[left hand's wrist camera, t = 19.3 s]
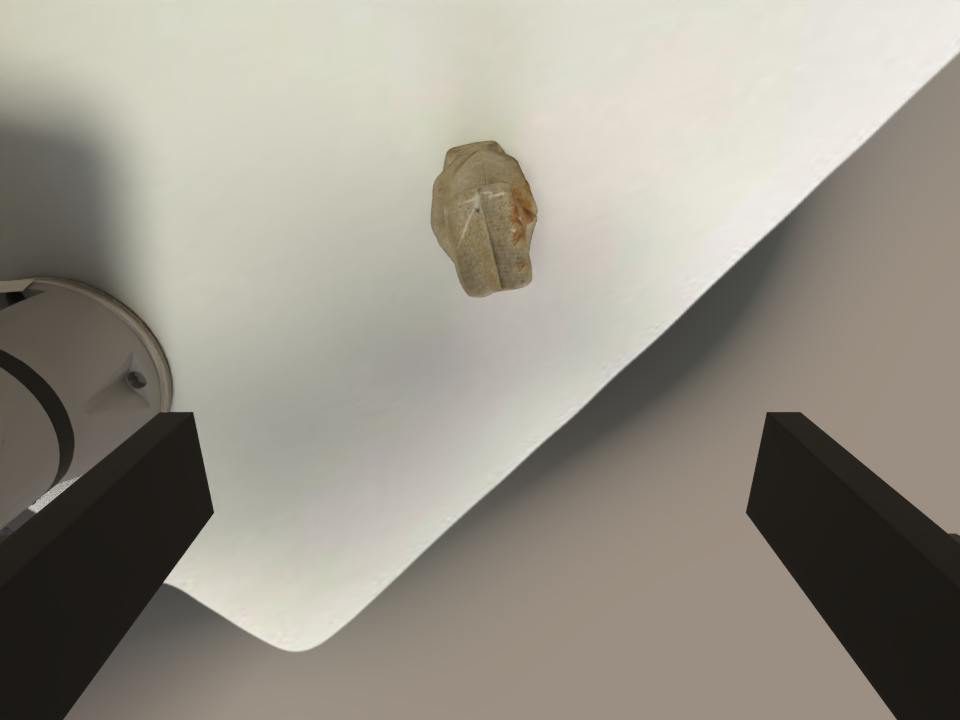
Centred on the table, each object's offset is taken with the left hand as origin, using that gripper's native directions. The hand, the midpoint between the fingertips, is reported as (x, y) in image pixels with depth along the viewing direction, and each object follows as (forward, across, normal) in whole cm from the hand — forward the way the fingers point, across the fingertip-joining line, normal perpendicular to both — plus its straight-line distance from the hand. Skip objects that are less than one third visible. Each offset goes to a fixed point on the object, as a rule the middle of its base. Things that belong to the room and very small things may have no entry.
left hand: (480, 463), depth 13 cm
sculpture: (+29, 0, -4) cm, 29 cm away
